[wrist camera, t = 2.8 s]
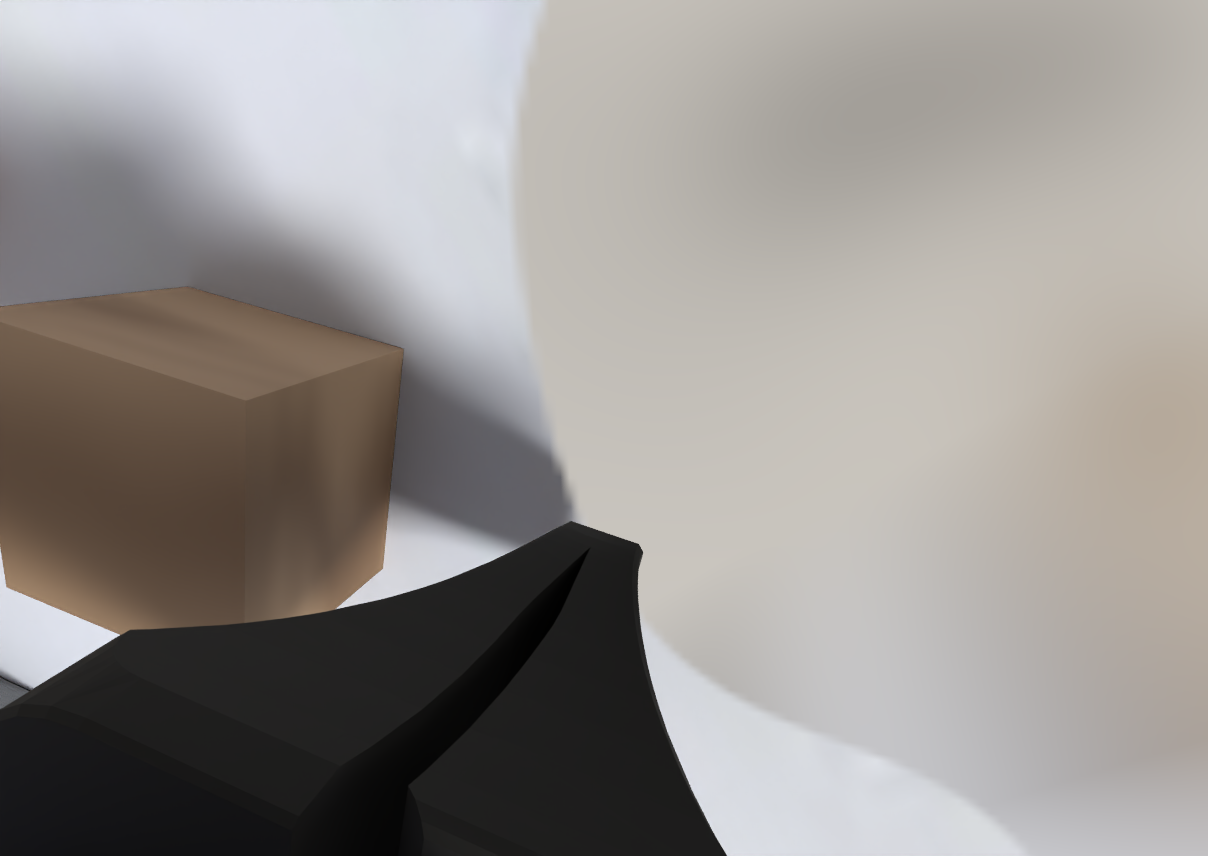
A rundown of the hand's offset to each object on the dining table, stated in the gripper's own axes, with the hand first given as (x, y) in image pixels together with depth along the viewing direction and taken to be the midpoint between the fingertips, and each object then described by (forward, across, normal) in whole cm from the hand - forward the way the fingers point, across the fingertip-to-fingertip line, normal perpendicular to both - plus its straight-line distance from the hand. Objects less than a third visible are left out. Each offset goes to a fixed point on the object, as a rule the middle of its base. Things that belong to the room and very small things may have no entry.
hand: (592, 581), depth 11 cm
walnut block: (+2, +7, 0) cm, 7 cm away
